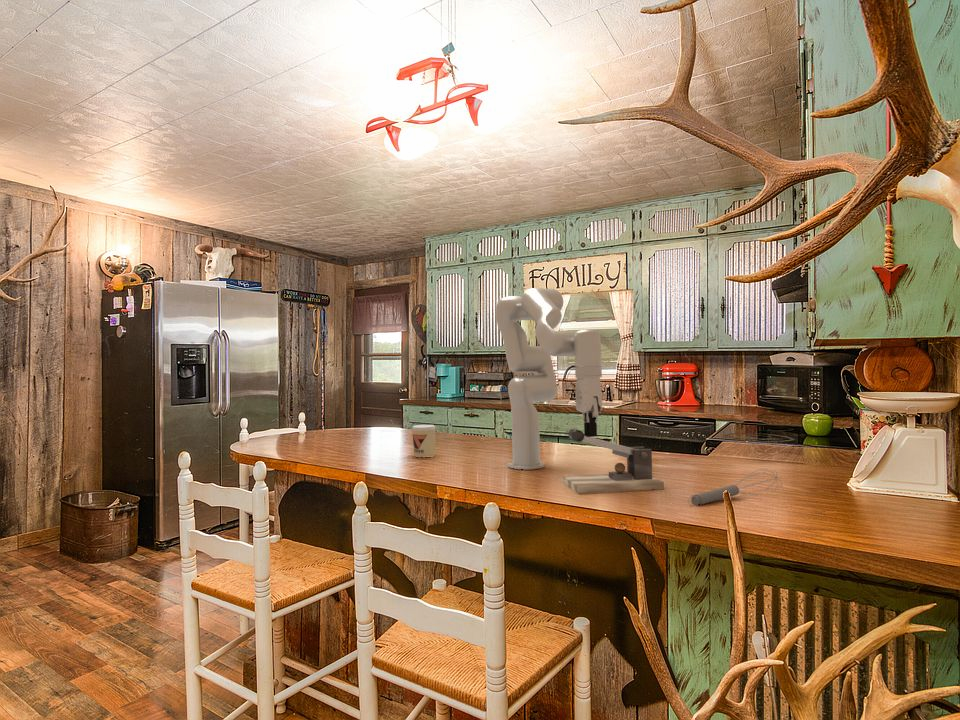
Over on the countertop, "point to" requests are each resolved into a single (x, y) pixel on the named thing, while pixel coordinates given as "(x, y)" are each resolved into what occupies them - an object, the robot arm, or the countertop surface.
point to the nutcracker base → (608, 484)
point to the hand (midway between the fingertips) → (590, 436)
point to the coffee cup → (424, 440)
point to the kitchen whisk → (718, 493)
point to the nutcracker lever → (601, 443)
